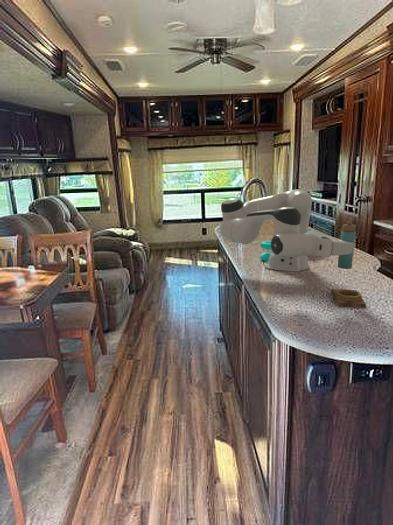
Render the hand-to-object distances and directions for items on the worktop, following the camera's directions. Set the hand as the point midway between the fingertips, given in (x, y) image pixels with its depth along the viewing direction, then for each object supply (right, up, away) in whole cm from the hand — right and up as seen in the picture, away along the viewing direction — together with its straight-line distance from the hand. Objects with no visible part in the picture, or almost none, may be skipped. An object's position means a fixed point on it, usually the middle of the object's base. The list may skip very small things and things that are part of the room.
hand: (349, 242), depth 133 cm
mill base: (0, -22, +3) cm, 22 cm away
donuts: (-17, -6, +63) cm, 66 cm away
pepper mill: (-1, -9, +2) cm, 10 cm away
